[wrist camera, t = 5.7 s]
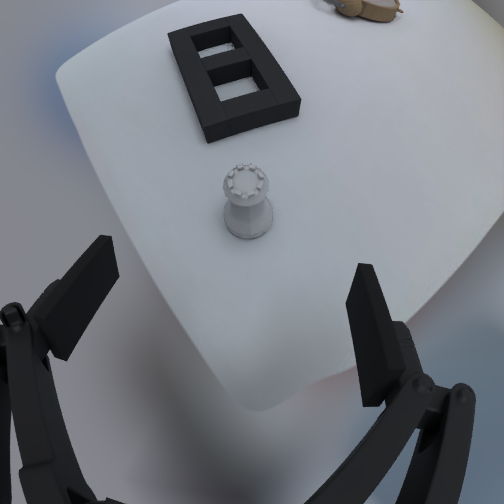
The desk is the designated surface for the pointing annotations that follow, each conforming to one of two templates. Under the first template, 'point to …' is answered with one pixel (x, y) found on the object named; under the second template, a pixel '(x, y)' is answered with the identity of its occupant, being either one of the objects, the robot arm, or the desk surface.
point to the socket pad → (232, 77)
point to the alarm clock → (368, 8)
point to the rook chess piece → (247, 201)
